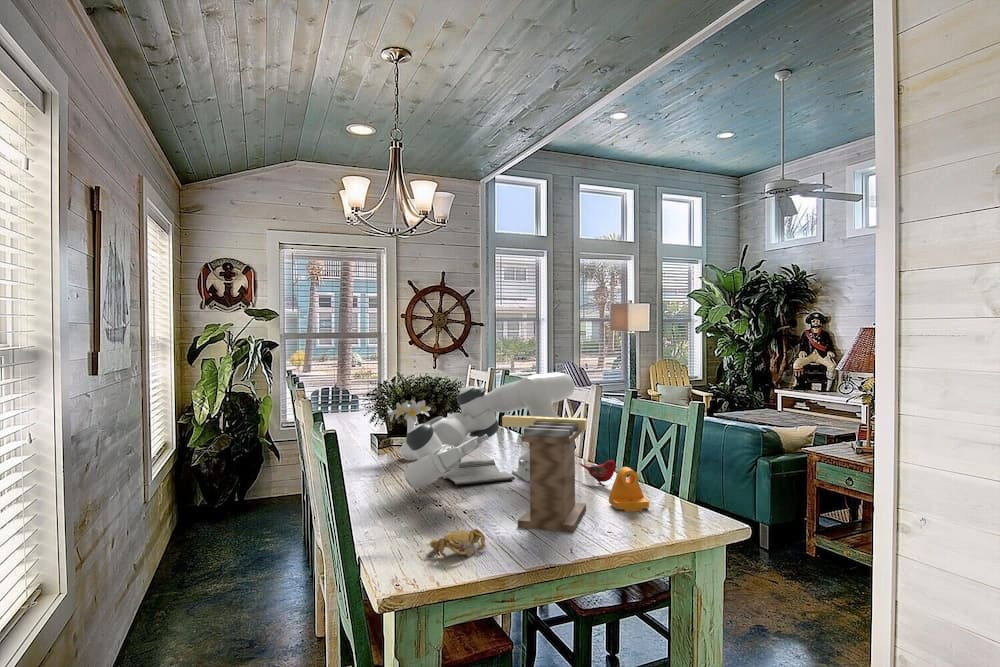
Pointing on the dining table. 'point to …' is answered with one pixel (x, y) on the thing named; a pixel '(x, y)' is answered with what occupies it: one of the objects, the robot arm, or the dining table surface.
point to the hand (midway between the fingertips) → (482, 439)
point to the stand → (552, 478)
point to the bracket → (627, 492)
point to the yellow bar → (529, 420)
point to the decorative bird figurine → (601, 471)
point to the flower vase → (409, 421)
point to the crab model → (459, 542)
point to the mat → (477, 472)
